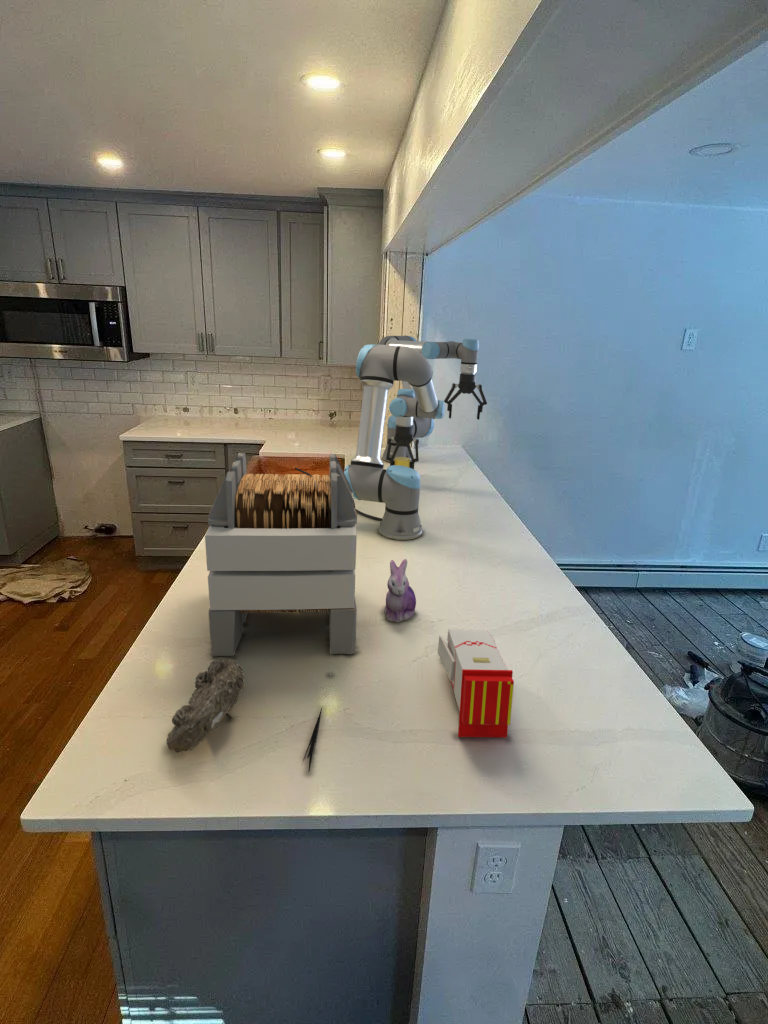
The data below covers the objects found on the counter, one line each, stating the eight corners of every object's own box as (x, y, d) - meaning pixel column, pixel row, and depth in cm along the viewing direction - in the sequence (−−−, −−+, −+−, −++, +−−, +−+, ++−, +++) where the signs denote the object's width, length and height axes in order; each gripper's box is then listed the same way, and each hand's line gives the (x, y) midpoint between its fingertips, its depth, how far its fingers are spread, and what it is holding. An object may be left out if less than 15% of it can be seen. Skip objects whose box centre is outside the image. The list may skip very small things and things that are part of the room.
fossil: (192, 660, 117) (244, 628, 112) (224, 691, 120) (276, 661, 115) (142, 746, 98) (202, 712, 93) (182, 779, 101) (242, 748, 96)
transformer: (231, 587, 157) (223, 443, 143) (348, 585, 161) (352, 445, 147) (208, 658, 125) (196, 482, 112) (356, 654, 129) (361, 484, 115)
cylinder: (390, 484, 256) (391, 458, 252) (400, 481, 260) (402, 456, 256) (401, 488, 251) (402, 461, 247) (412, 485, 256) (413, 459, 252)
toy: (488, 613, 130) (523, 677, 101) (484, 667, 133) (517, 744, 104) (435, 612, 130) (455, 676, 101) (432, 666, 133) (451, 743, 103)
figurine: (392, 627, 141) (395, 572, 136) (374, 608, 149) (376, 556, 144) (425, 619, 145) (429, 566, 140) (405, 601, 154) (408, 550, 149)
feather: (331, 679, 122) (336, 673, 122) (307, 777, 96) (313, 769, 95) (324, 675, 122) (329, 669, 121) (298, 772, 95) (304, 764, 95)
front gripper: (426, 424, 250) (423, 474, 258) (381, 422, 250) (379, 472, 258) (427, 428, 243) (424, 479, 251) (381, 425, 243) (379, 477, 251)
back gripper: (442, 373, 261) (439, 418, 269) (496, 375, 262) (491, 421, 269) (440, 371, 268) (437, 416, 276) (492, 373, 269) (488, 418, 276)
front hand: (401, 475), depth 254 cm, fingers closed on cylinder, 7 cm apart
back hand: (463, 418), depth 272 cm, fingers open, 13 cm apart
